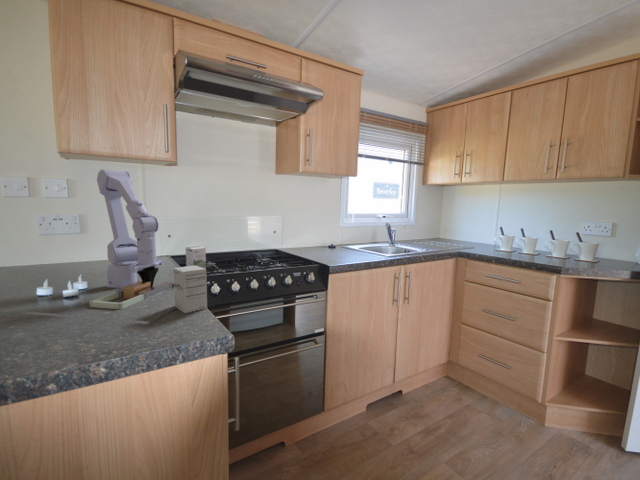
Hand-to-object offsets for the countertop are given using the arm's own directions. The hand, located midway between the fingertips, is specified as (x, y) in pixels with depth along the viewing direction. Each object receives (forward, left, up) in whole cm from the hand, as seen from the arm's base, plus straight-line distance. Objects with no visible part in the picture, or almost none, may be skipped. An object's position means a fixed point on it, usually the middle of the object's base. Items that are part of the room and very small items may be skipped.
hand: (148, 288), depth 114 cm
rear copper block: (0, -3, -1) cm, 4 cm away
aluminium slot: (0, -2, -2) cm, 2 cm away
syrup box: (+8, +18, -2) cm, 20 cm away
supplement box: (+24, -12, -2) cm, 27 cm away
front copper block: (0, -7, -1) cm, 7 cm away
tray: (0, -14, -2) cm, 14 cm away
